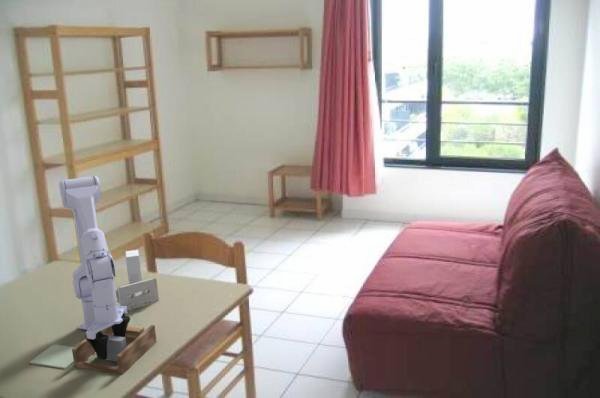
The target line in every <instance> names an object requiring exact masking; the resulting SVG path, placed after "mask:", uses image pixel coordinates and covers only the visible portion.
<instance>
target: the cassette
mask: <svg viewBox="0 0 600 398" xmlns="http://www.w3.org/2000/svg"><path fill="white" fill-rule="evenodd" d="M157 280H158V279H157V278H156V277H151V278H148V279H143V280H142V281H140V282H136V283H133V284H129V283H128V284H126V285H121V286H119V287H117V292H118V300H119V306H127V311H129V310H132V309H133V310H134V309H137V308H140V307H143V306H147V305H151V304H153V303H155V302H159V301H160V297H159V289H158V281H157ZM139 292H142V293H139ZM136 293H139V294H136Z"/></svg>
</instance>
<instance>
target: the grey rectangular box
mask: <svg viewBox="0 0 600 398" xmlns="http://www.w3.org/2000/svg"><path fill="white" fill-rule="evenodd" d="M103 335H104V334H103ZM127 346H128V345H127V344H126V337H119V336H111V335H109V337H108V341H107V358H106V359H105V360H106V361H107V360H108V361H113V362H114V361H115V362H117V355H118V354H119V353H120V352H121V351H123V350H124V349H125V348H126V347H127ZM95 355H96V359H98V356H97V354H96V353H95Z"/></svg>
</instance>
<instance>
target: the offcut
mask: <svg viewBox="0 0 600 398" xmlns="http://www.w3.org/2000/svg"><path fill="white" fill-rule="evenodd" d="M144 331H145V326H144V327H143V326H136V325H129V324H128V326H127V329H126V334H125V337H126V345H127V346H128V345H129V344H130V343H132V342H133V341H134V340H135V339H136V338H137V337H138V336H140V335H141V334H142V333H143V332H144ZM112 336H114V334H112Z"/></svg>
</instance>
